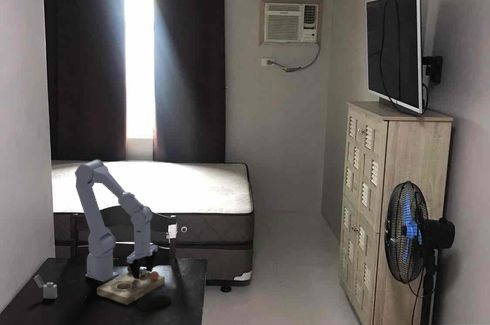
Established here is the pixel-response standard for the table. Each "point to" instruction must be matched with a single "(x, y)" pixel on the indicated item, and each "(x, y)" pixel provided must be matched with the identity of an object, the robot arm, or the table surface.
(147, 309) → the computer mouse
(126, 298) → the maple board
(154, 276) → the red ball
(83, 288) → the table surface
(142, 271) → the steel ball
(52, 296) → the lighter
